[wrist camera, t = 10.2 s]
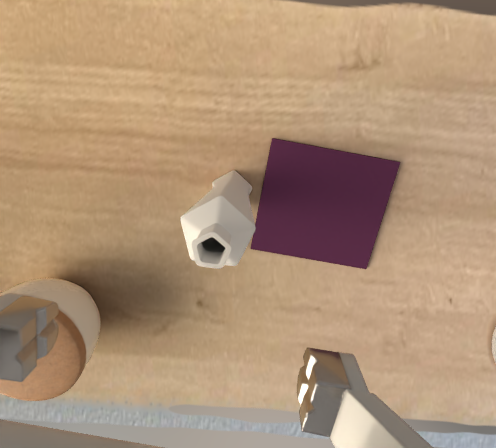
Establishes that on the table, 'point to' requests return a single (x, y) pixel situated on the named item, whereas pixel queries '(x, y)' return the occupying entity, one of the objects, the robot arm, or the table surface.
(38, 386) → the trinket box
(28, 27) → the table surface
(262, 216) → the cloth
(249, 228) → the white faceted vase
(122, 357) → the table surface
